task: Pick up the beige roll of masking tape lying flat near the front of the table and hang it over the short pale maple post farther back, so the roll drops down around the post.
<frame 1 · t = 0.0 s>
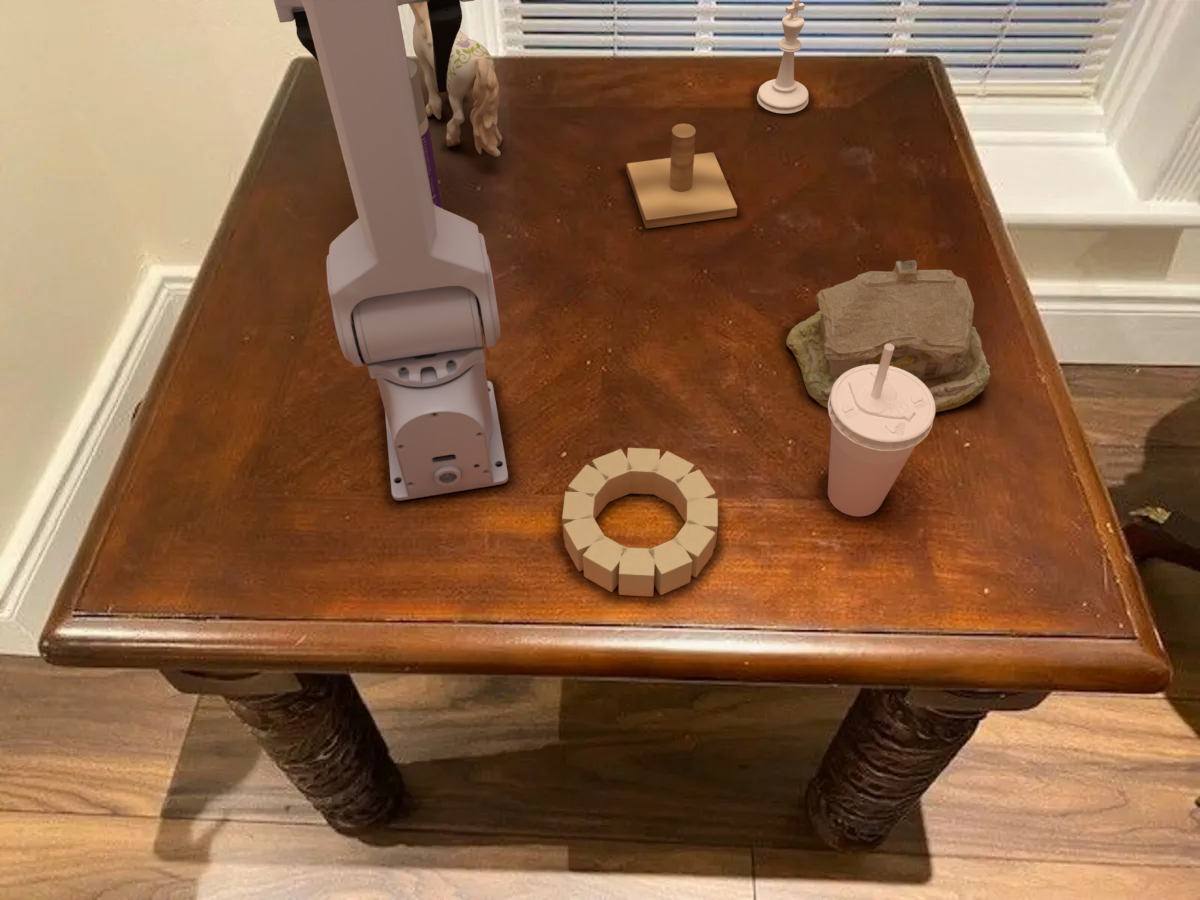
hand: (394, 91, 83), 10 cm above the table, tool pointing down, fingers open, 7 cm apart
tape: (639, 530, 69), on the table
ceramic model: (881, 366, 78), on the table
unicorn figurine: (428, 133, 97), on the table
post stand: (680, 194, 91), on the table
chess piece: (782, 101, 100), on the table
smoothie: (854, 495, 71), on the table
container: (418, 231, 88), on the table
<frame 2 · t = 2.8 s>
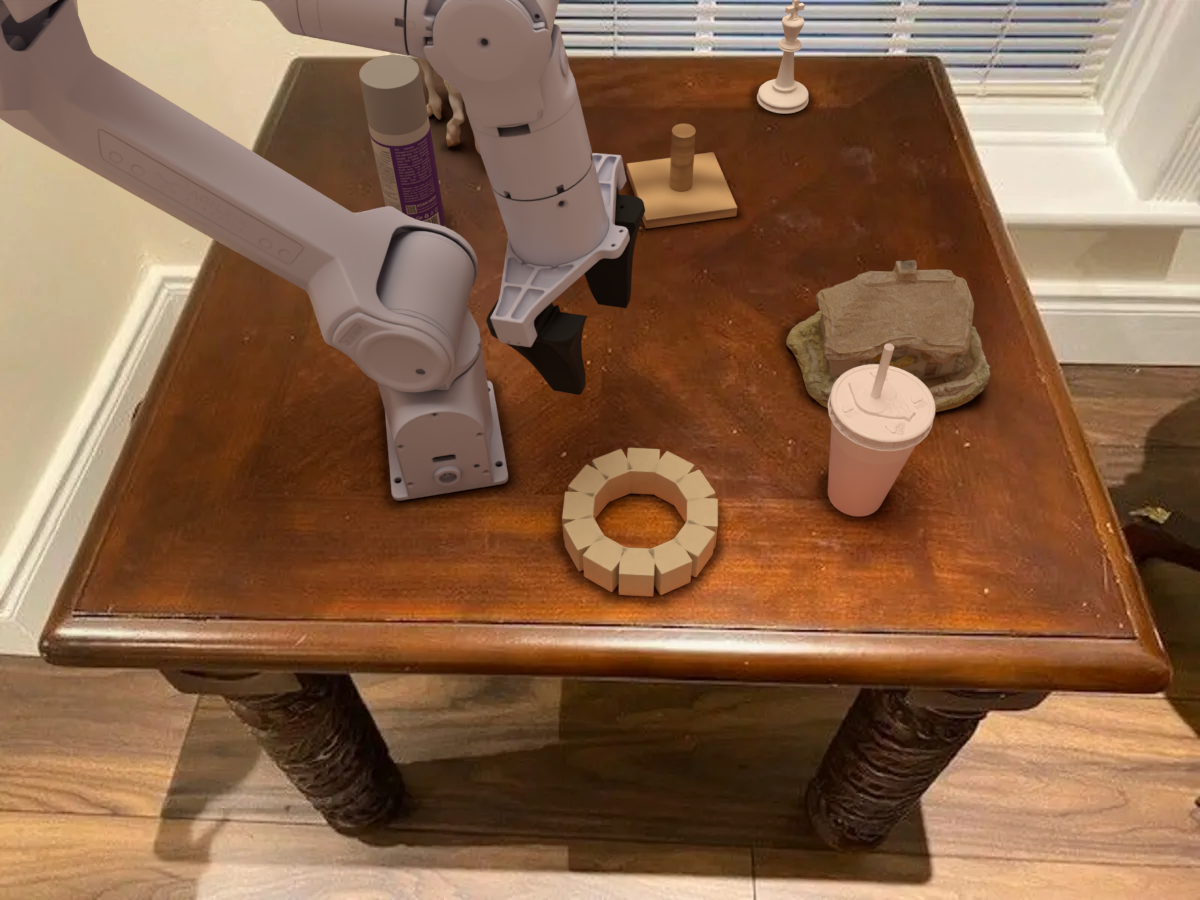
hand: (591, 344, 66), 10 cm above the table, tool pointing down, fingers open, 7 cm apart
nothing on the table moved.
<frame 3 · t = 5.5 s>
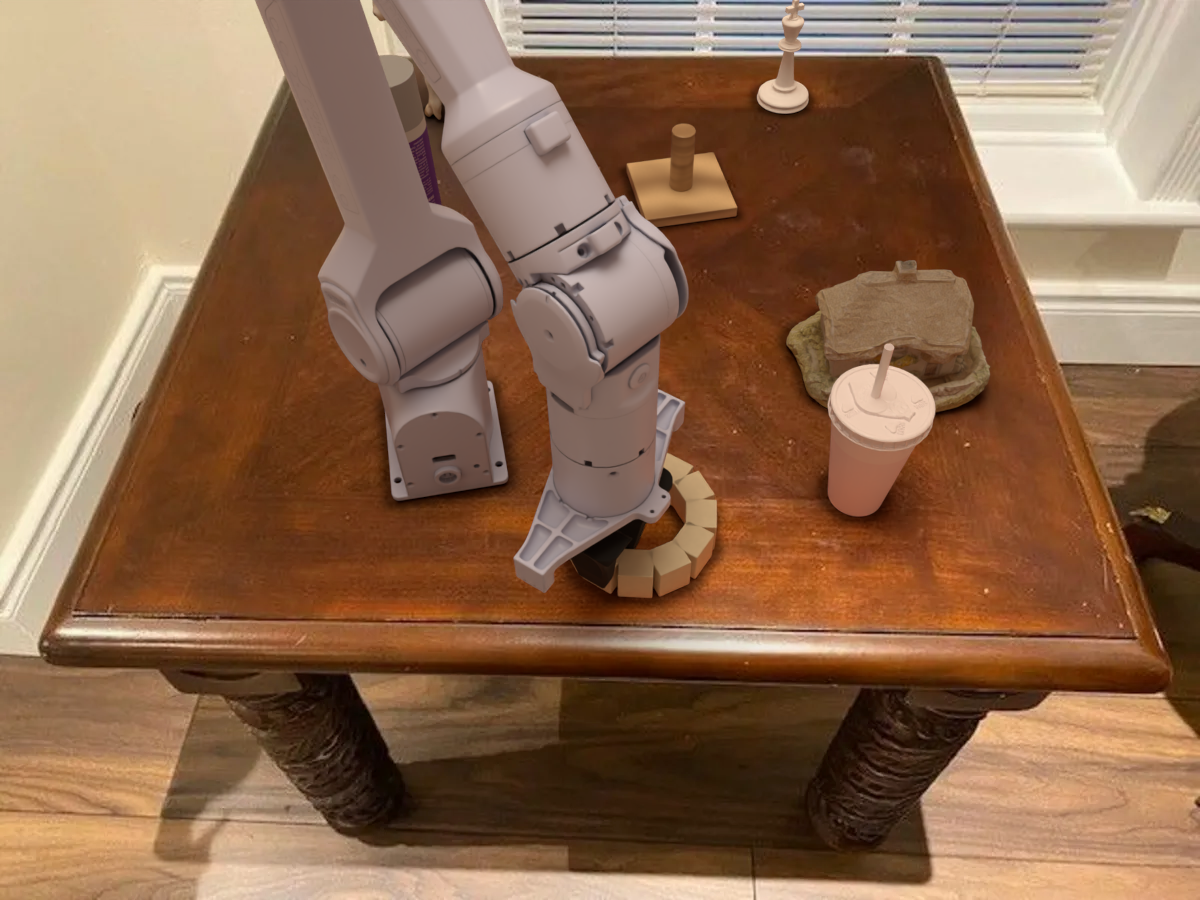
hand: (606, 562, 66), 1 cm above the table, tool pointing down, fingers closed on tape, 2 cm apart
tape: (638, 532, 69), on the table, touching gripper
everything else where it was.
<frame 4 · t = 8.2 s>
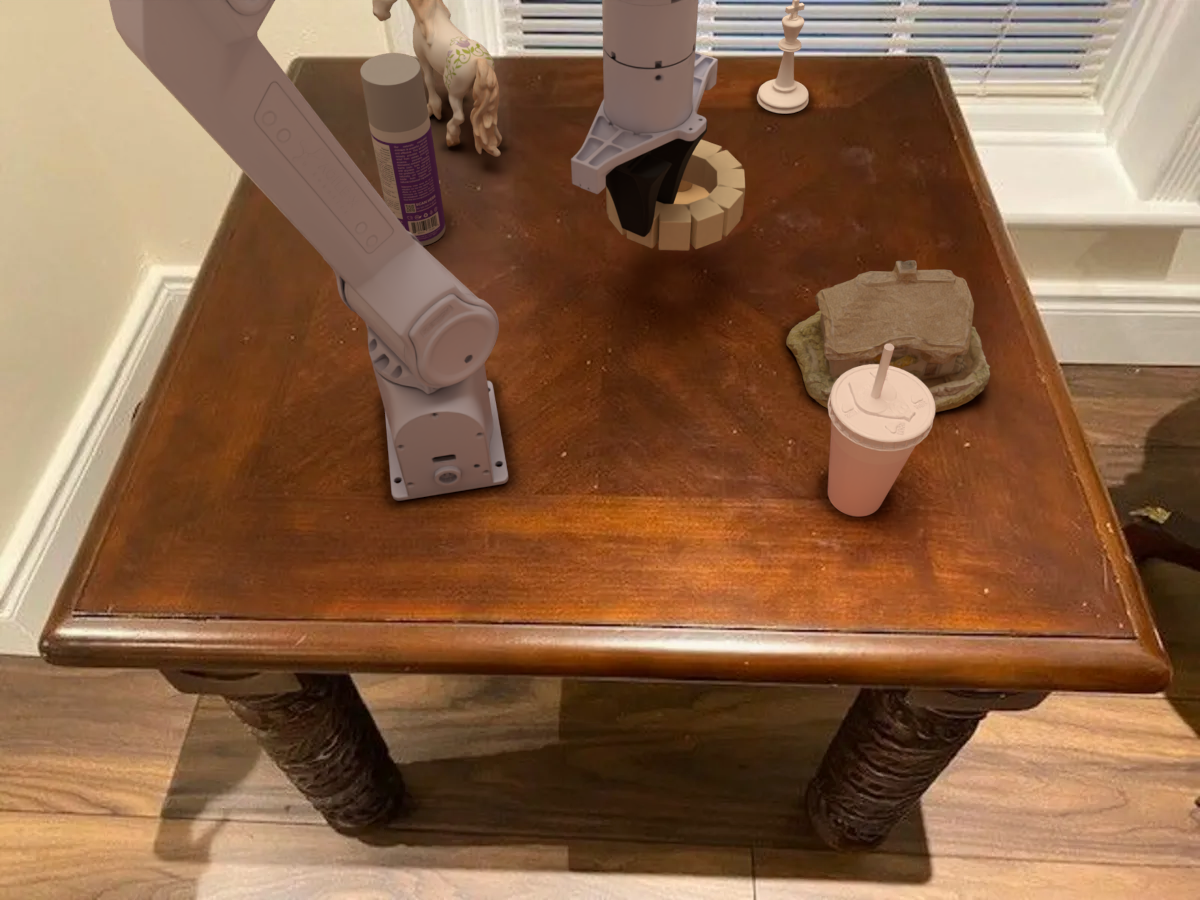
hand: (645, 219, 74), 9 cm above the table, tool pointing down, fingers closed on tape, 2 cm apart
tape: (674, 206, 77), point 8 cm above the table, touching gripper
everything else where it was.
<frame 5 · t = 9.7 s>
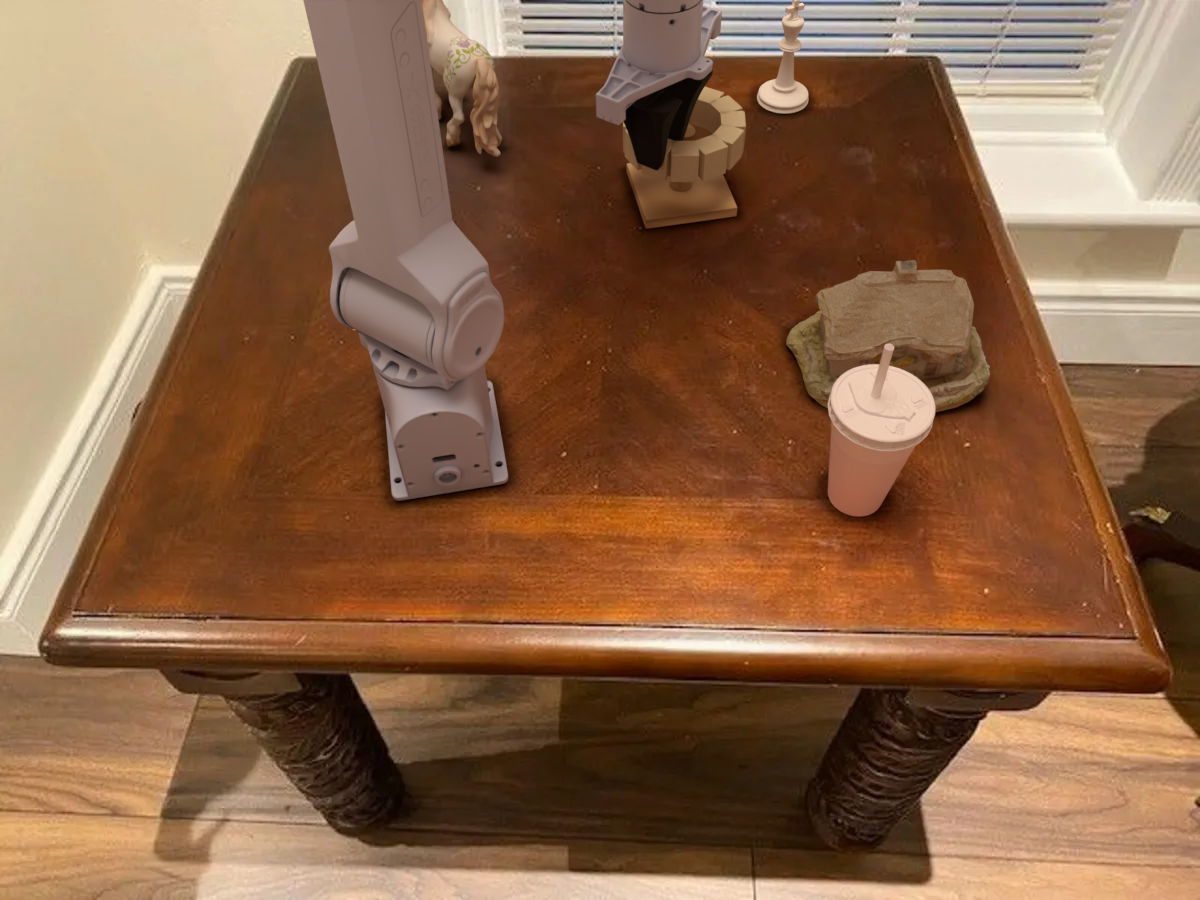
hand: (658, 155, 84), 6 cm above the table, tool pointing down, fingers closed on tape, 2 cm apart
tape: (682, 145, 87), point 5 cm above the table, touching gripper
everything else where it was.
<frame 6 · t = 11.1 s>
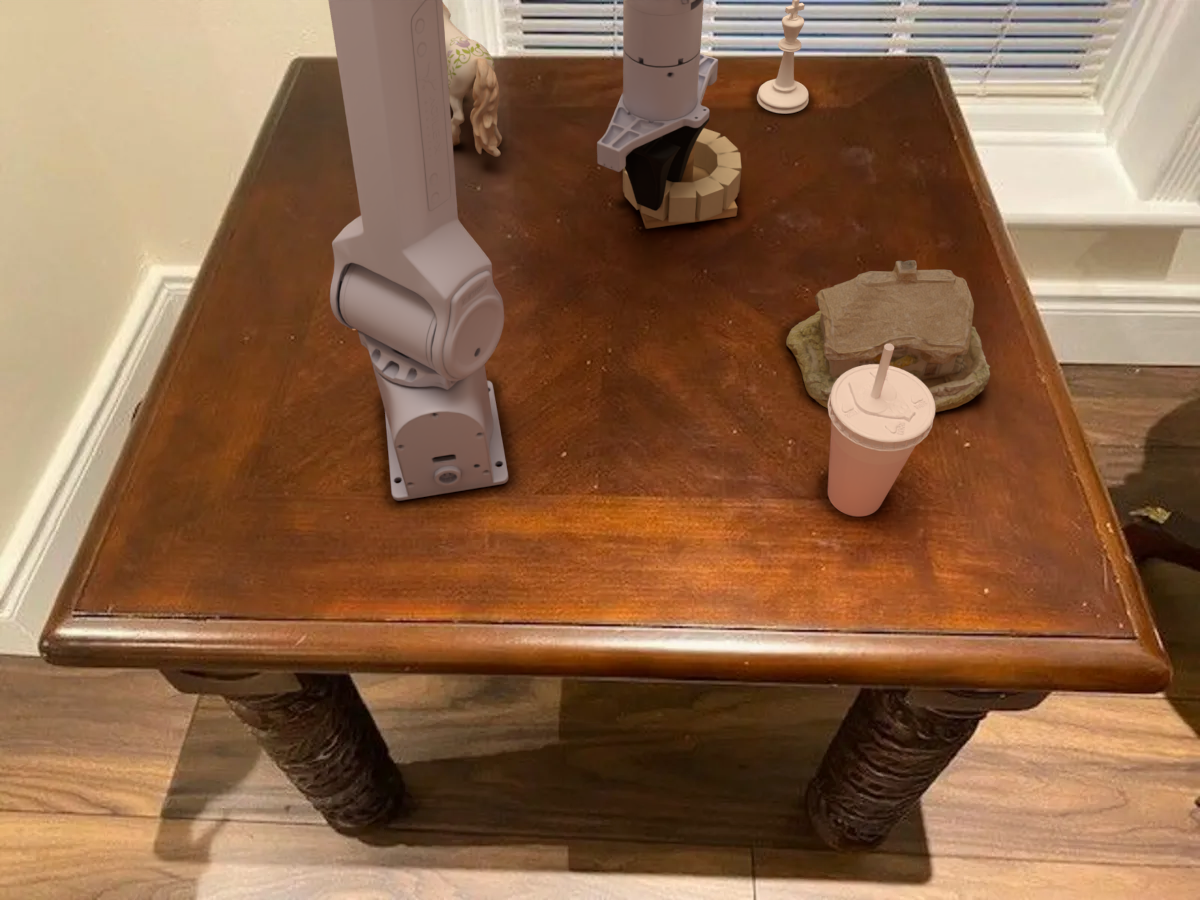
hand: (657, 196, 87), 2 cm above the table, tool pointing down, fingers closed on tape, 2 cm apart
tape: (680, 185, 90), point 1 cm above the table, touching gripper, post stand
everything else where it was.
when the fingers open (2 cm above the table, at t = 11.3 s): tape stays where it is, resting on post stand.
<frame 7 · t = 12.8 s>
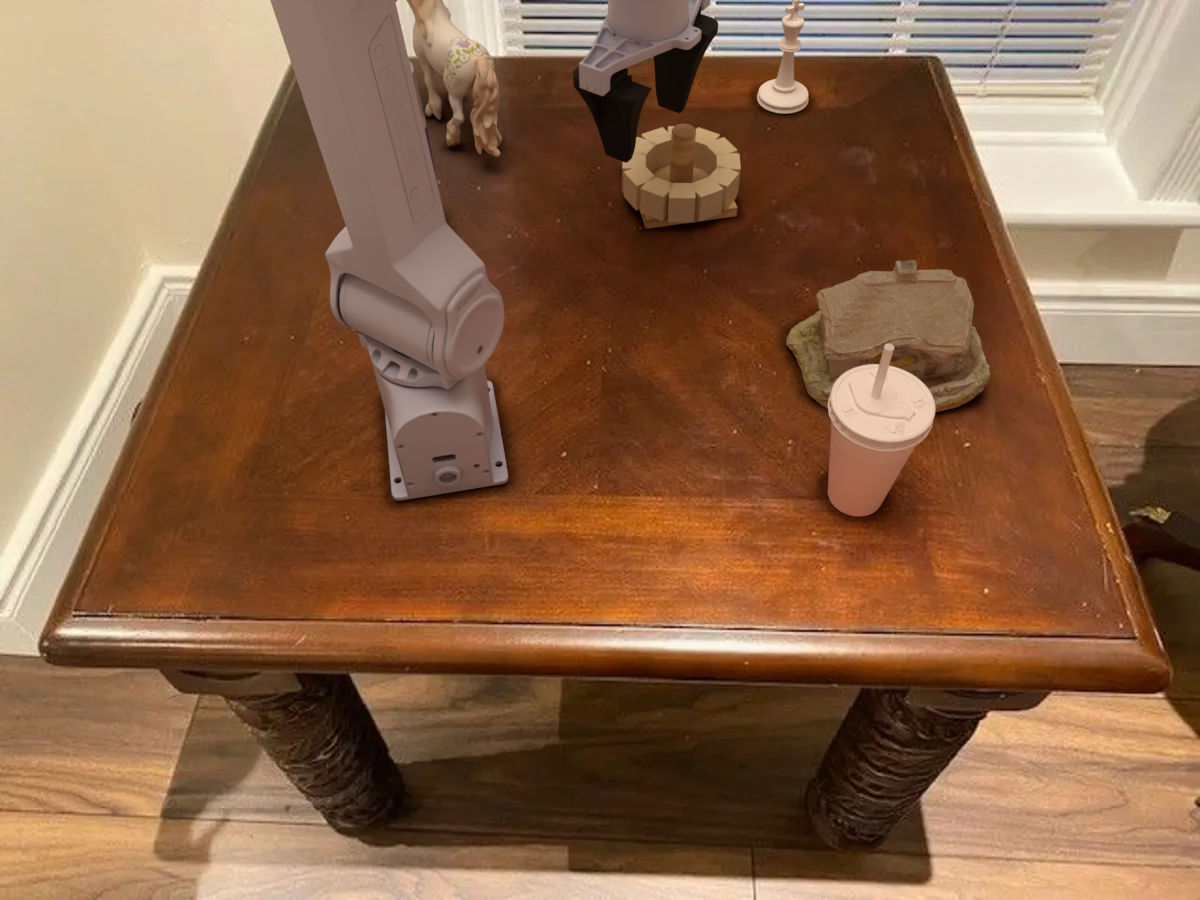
hand: (645, 131, 81), 9 cm above the table, tool pointing down, fingers open, 7 cm apart
tape: (679, 185, 90), point 1 cm above the table, touching post stand
everything else where it was.
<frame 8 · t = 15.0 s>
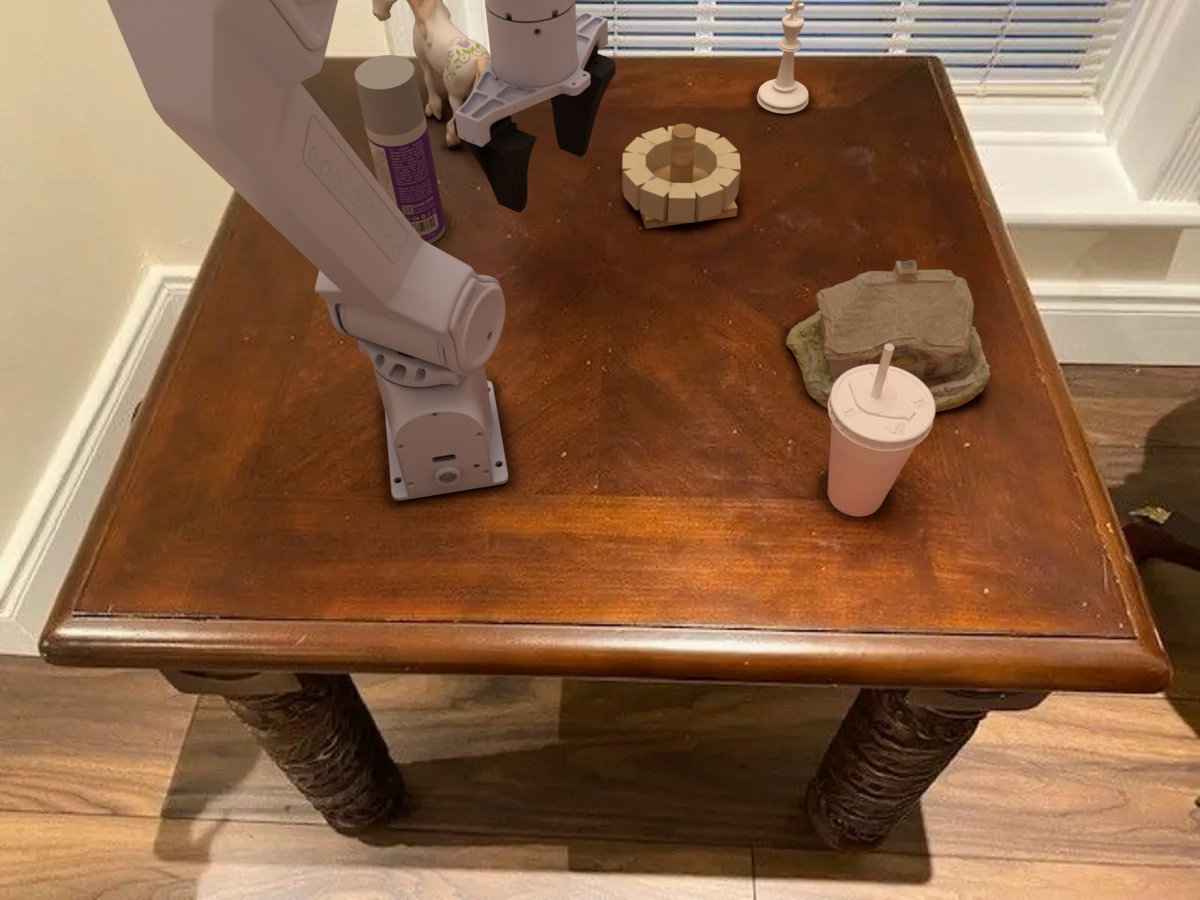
hand: (543, 177, 76), 10 cm above the table, tool pointing down, fingers open, 7 cm apart
nothing on the table moved.
at the end: tape 0.2 cm from the post stand (horizontally); tape point 1.0 cm above the table; the gripper is holding nothing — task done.
